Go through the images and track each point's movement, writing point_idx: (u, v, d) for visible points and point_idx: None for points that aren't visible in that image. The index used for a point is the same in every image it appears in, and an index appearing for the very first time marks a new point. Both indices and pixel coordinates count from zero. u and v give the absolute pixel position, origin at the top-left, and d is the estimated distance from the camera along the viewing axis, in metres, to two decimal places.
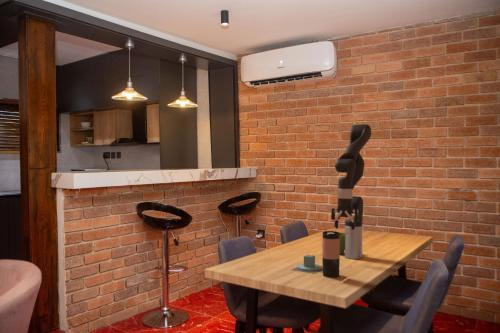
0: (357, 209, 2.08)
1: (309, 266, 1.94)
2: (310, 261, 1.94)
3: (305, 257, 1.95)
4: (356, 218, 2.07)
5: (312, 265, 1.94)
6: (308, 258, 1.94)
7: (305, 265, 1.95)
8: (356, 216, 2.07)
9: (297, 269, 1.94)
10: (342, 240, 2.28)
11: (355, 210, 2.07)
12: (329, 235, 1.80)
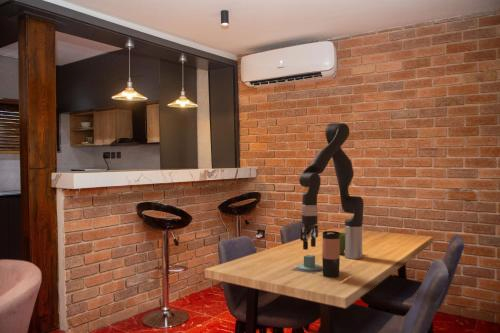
0: None
1: (309, 266, 1.94)
2: (310, 261, 1.94)
3: (305, 257, 1.95)
4: (317, 234, 2.01)
5: (312, 265, 1.94)
6: (308, 258, 1.94)
7: (305, 265, 1.95)
8: (317, 232, 2.01)
9: (297, 269, 1.94)
10: (342, 240, 2.28)
11: (317, 226, 2.00)
12: (329, 235, 1.80)
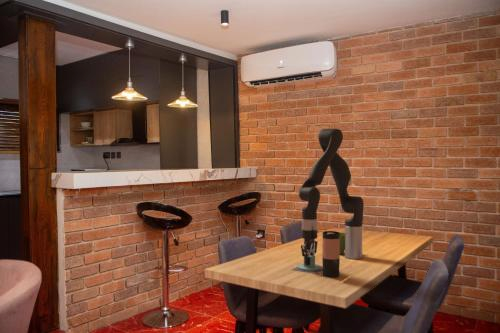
0: None
1: (309, 266, 1.94)
2: (310, 261, 1.94)
3: None
4: (316, 250, 2.00)
5: (312, 265, 1.94)
6: None
7: (305, 265, 1.95)
8: (316, 248, 2.00)
9: (297, 269, 1.94)
10: (342, 240, 2.28)
11: (316, 242, 2.00)
12: (329, 235, 1.80)
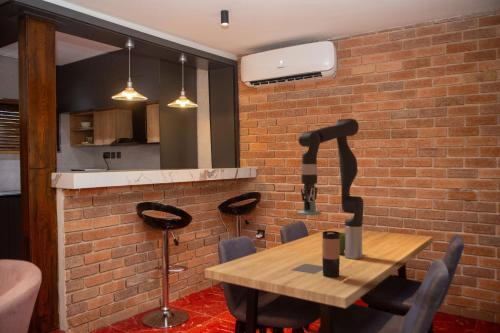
0: None
1: (309, 211, 1.94)
2: (310, 206, 1.94)
3: None
4: (315, 196, 1.99)
5: (312, 210, 1.94)
6: None
7: (305, 210, 1.95)
8: (316, 194, 2.00)
9: (297, 269, 1.94)
10: (342, 240, 2.28)
11: (316, 188, 2.00)
12: (329, 235, 1.80)
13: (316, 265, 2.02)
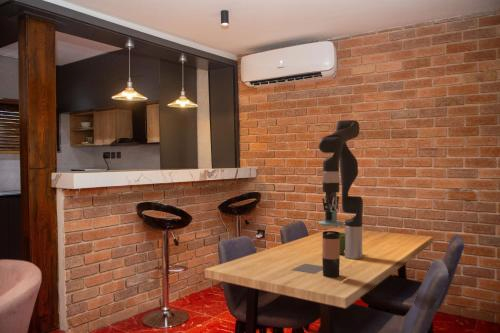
0: None
1: (331, 221, 1.81)
2: (332, 216, 1.81)
3: None
4: (337, 205, 1.87)
5: (334, 220, 1.82)
6: None
7: (326, 220, 1.83)
8: (337, 203, 1.87)
9: (297, 269, 1.94)
10: (342, 240, 2.28)
11: (338, 197, 1.88)
12: (329, 235, 1.80)
13: (316, 265, 2.02)
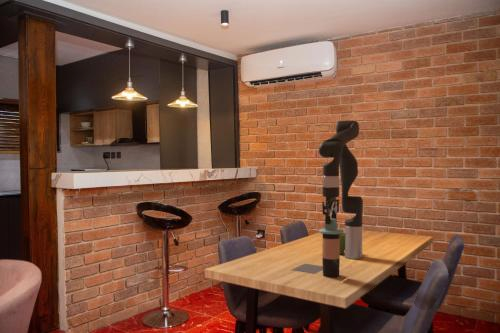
0: None
1: (331, 229, 1.81)
2: (332, 224, 1.81)
3: None
4: (338, 209, 1.88)
5: (334, 228, 1.82)
6: None
7: (326, 228, 1.83)
8: (338, 206, 1.88)
9: (297, 269, 1.94)
10: (342, 240, 2.28)
11: (338, 200, 1.88)
12: (329, 235, 1.80)
13: (316, 265, 2.02)
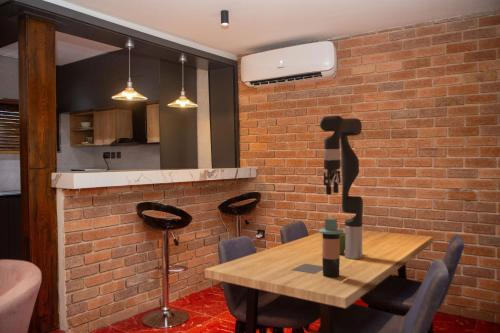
0: None
1: (331, 229, 1.81)
2: (332, 224, 1.81)
3: (326, 220, 1.83)
4: (339, 180, 1.95)
5: (334, 228, 1.82)
6: (330, 221, 1.82)
7: (326, 228, 1.83)
8: (339, 178, 1.95)
9: (297, 269, 1.94)
10: (342, 240, 2.28)
11: (339, 171, 1.95)
12: (329, 235, 1.80)
13: (316, 265, 2.02)
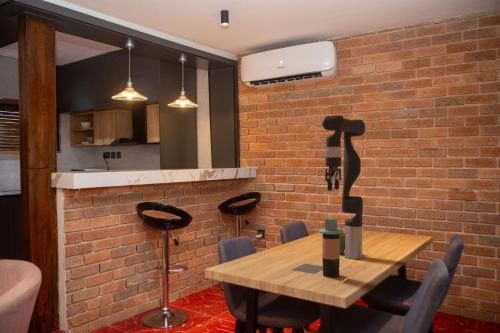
0: None
1: (331, 229, 1.81)
2: (332, 224, 1.81)
3: (326, 220, 1.83)
4: (340, 177, 2.04)
5: (334, 228, 1.82)
6: (330, 221, 1.82)
7: (326, 228, 1.83)
8: (340, 175, 2.04)
9: (297, 269, 1.94)
10: (342, 240, 2.28)
11: (340, 169, 2.03)
12: (329, 235, 1.80)
13: (316, 265, 2.02)
